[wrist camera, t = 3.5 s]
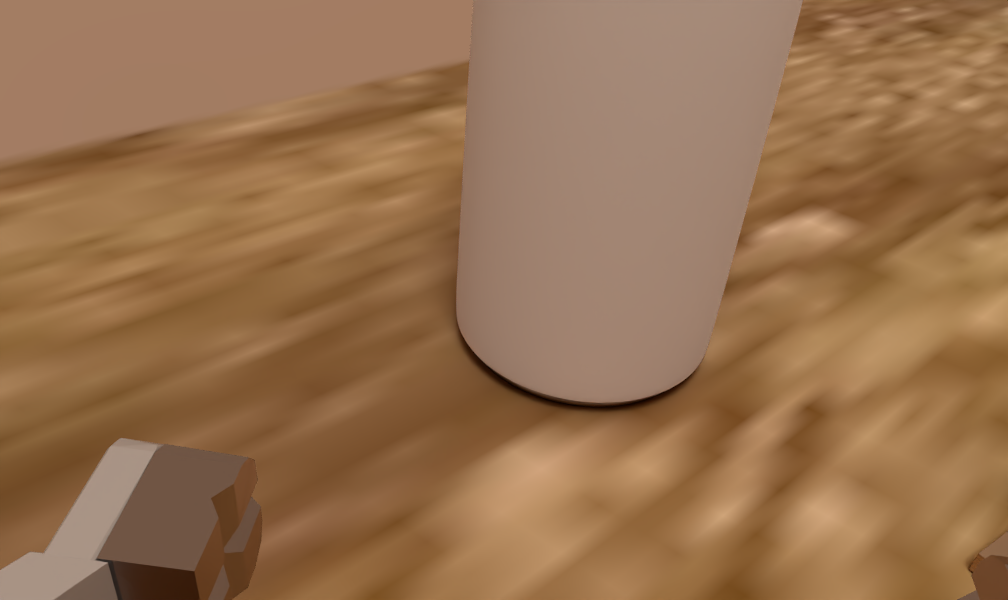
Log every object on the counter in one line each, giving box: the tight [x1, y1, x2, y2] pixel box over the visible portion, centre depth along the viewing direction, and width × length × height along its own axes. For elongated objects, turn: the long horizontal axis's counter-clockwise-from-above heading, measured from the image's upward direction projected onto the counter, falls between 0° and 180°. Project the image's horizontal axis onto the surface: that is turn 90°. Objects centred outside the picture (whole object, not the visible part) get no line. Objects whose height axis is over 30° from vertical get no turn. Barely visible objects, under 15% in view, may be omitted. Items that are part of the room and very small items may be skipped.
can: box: [456, 0, 803, 407], centre depth 20 cm, size 6×6×12 cm
